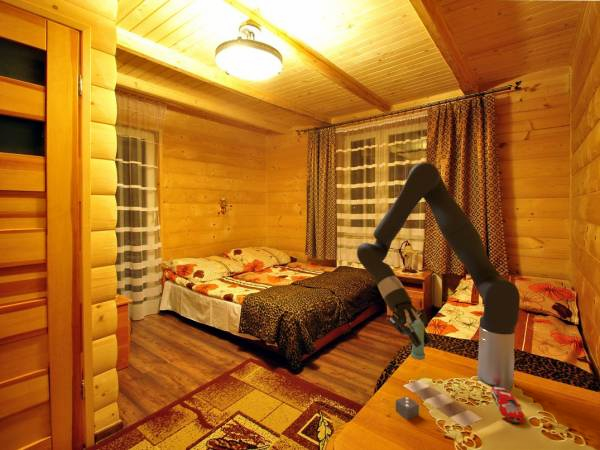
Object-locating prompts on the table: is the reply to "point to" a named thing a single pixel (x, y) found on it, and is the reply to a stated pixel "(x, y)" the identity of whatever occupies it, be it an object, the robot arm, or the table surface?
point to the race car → (507, 405)
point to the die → (407, 408)
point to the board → (443, 403)
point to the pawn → (419, 330)
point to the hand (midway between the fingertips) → (423, 344)
